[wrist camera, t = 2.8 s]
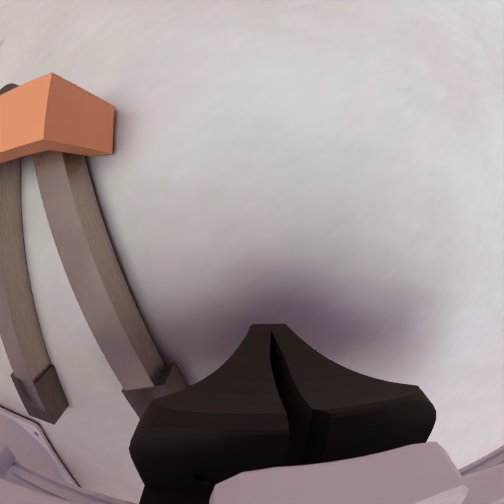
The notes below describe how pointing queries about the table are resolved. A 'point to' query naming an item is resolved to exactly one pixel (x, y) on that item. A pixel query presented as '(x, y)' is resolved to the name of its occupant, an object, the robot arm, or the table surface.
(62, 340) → the table surface
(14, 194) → the base
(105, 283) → the tong arm
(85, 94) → the orange bridge block
